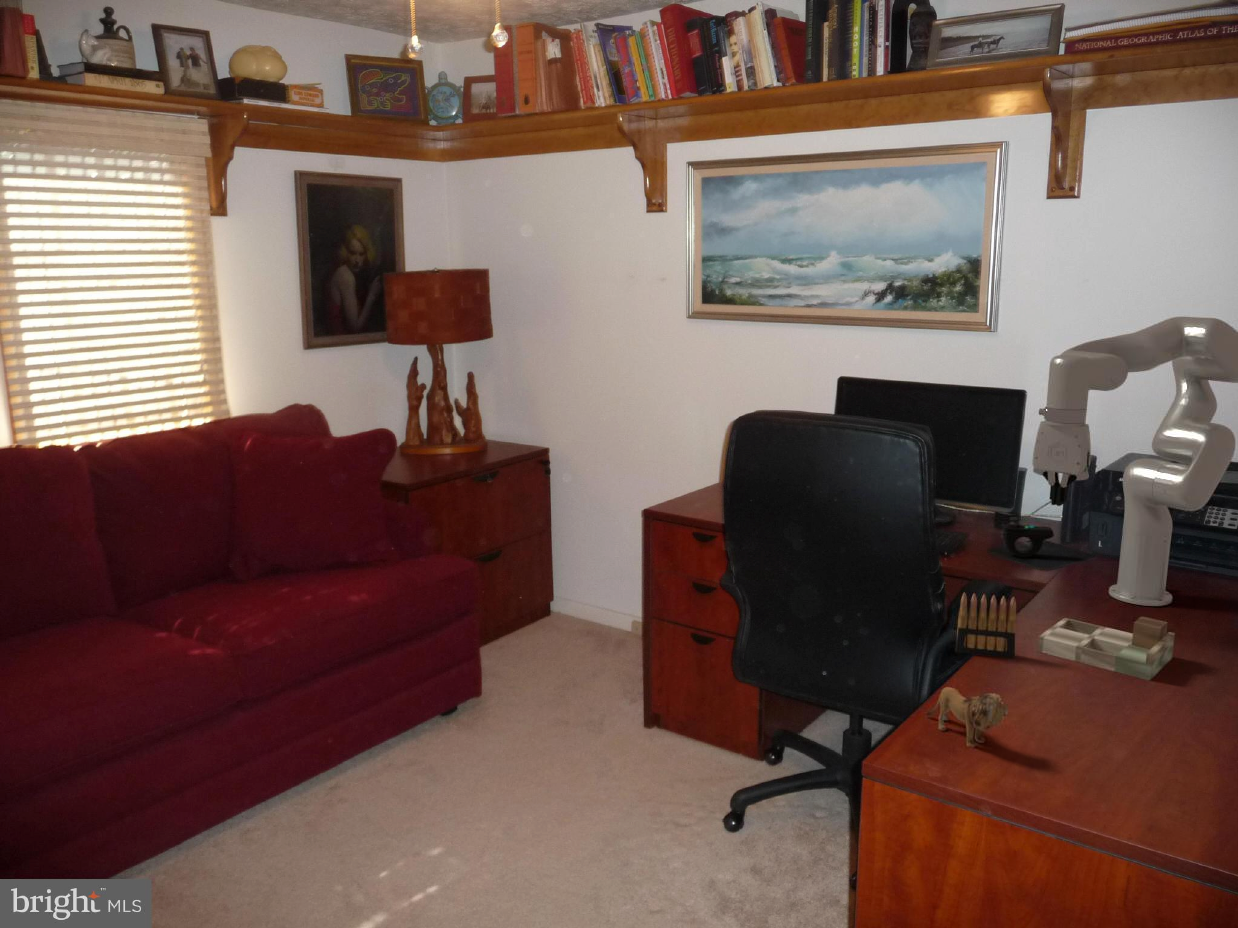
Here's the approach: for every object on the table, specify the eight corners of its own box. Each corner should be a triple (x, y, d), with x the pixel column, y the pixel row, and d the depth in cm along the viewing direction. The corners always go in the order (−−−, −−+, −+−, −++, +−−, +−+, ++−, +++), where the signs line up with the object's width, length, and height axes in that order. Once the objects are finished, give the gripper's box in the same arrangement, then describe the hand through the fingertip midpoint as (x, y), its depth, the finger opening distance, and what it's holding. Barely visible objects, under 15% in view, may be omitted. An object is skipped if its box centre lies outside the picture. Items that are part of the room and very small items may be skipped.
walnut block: (1139, 638, 186) (1141, 616, 185) (1164, 644, 183) (1167, 622, 182) (1131, 645, 183) (1134, 622, 182) (1157, 651, 180) (1160, 628, 179)
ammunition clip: (1013, 654, 186) (1018, 595, 184) (1014, 658, 185) (1019, 598, 182) (955, 648, 189) (959, 590, 187) (955, 652, 188) (959, 593, 185)
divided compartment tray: (1063, 631, 198) (1065, 608, 197) (1171, 657, 184) (1174, 633, 183) (1037, 651, 188) (1039, 626, 187) (1149, 680, 174) (1152, 654, 173)
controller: (998, 552, 252) (1001, 515, 250) (1049, 555, 249) (1053, 518, 247) (1001, 557, 248) (1003, 519, 246) (1052, 560, 245) (1056, 522, 243)
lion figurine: (1011, 749, 150) (1015, 695, 148) (989, 758, 147) (993, 703, 146) (935, 713, 162) (939, 662, 161) (913, 720, 160) (916, 669, 158)
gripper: (1021, 414, 198) (1014, 501, 202) (1098, 422, 188) (1089, 513, 192) (1035, 410, 204) (1028, 495, 207) (1111, 418, 194) (1102, 507, 197)
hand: (1057, 504), depth 200 cm, fingers closed
